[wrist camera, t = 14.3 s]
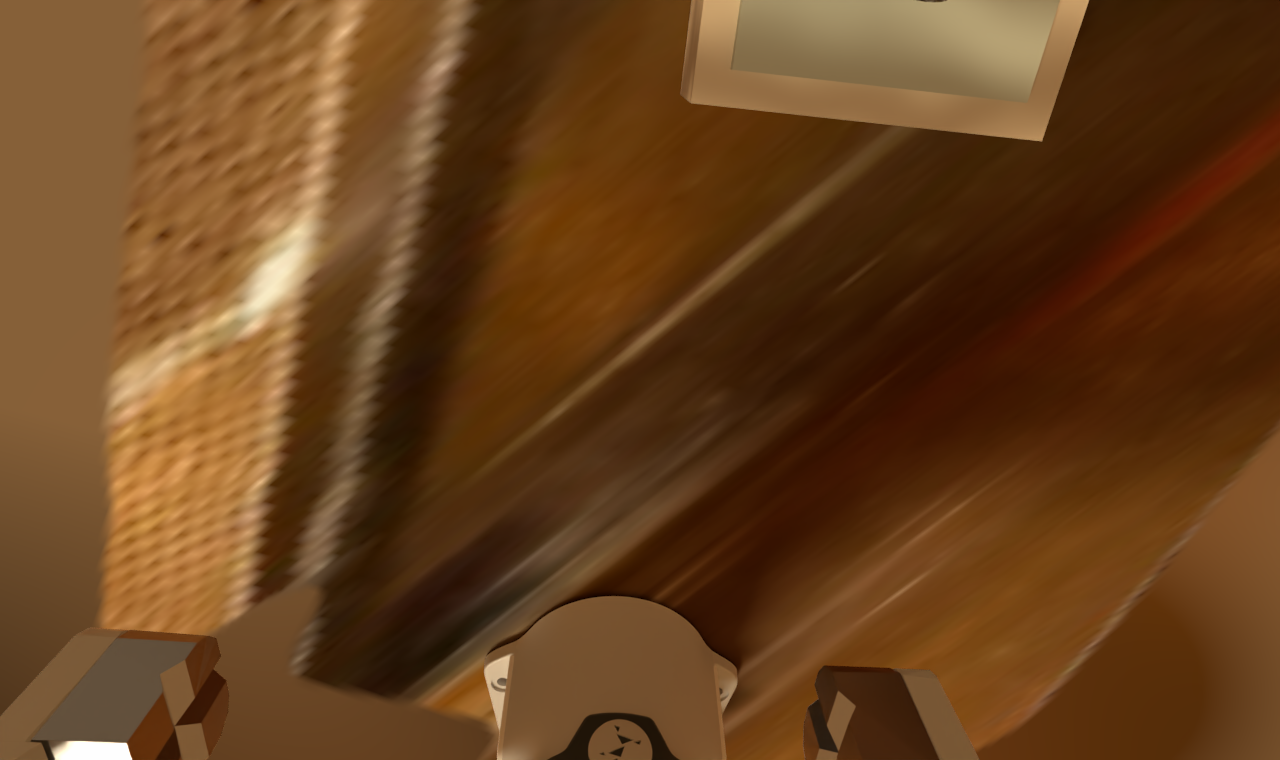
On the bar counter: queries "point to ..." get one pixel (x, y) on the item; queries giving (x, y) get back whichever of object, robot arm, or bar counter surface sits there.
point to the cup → (932, 0)
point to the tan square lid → (886, 60)
